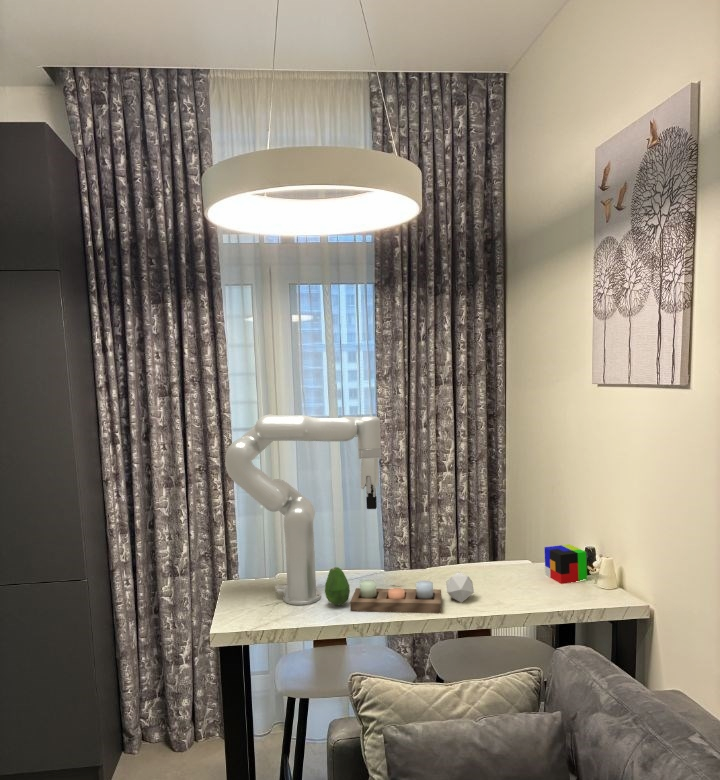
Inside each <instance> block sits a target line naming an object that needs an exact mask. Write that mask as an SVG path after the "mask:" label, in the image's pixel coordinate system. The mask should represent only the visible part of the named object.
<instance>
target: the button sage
mask: <svg viewBox="0 0 720 780" xmlns="http://www.w3.org/2000/svg"><path fill="white" fill-rule="evenodd" d="M359 588H360V596H361V597H363V598H373V597H375V596H376V595H377V590H376V589H377V581H376V580H374V579H364V580H361V581H360V582H359Z"/></svg>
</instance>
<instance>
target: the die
mask: <svg viewBox="0 0 720 780" xmlns="http://www.w3.org/2000/svg"><path fill="white" fill-rule="evenodd" d="M445 585H446V593H447V594H448V595H449V597H451V598H452V599H453V600H456V601H457V602H459V603H462V602H464V601H465V600H467V599H468V598H469V597H470V596H471V595H473V594H474V593H475V590H474V584H473V581H472V579H471V578H470V577H469V576H468V575H467V574H465V573H462V572H461V571H458V572H456V573H455V574H453V575H451V576H450V577H449V578H448V579H447V580H446V581H445Z"/></svg>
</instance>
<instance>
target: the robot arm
mask: <svg viewBox="0 0 720 780" xmlns="http://www.w3.org/2000/svg"><path fill="white" fill-rule="evenodd" d="M380 421H381V420H380V418H379V417H378V416H374V415H373V416H371V415H370V416H369V415H368V416H367V415H366V416H361V417H360V416H359V417H357V416H349V415H348V416H341V417H337V418H335V417H334V418H327V417H326V418H325V417H324V418H323V417H322V418H321V417H314V416H310V415H302V414H300V415H299V414H298V415H295V414H294V415H293V414H291V415H290V414H288V415H287V414H285V415H279V414H278V415H276V414H272V413H269V414H265V415H263V416H261V417H259V418H258V419H257V420H256V423H255V424H254V426H252V427H251V428H250V429H249V430H248V431H247V432H245V433H244V434H243V435H242V436H241V437H239V438H238V439H236V440H234V441H233V442H232V443H231V444H230V445H229V447H228V448H227V450H226V454H225V461H224V465H225V469H226V472H227V474H228V476H229V478H231V480H232V481H233V482H234V483H235V484H236V485H237V486H239V488H241V489H242V490H243V491H244V492H245V493H247V494H248V495H249V496H250V497H251V498H252V499H253V500H255V501H256V502H258V504H260V505H261V506H262V507H263V508H264V509H266V511H267V510H268V511H270V512H280V513H281V514H282V515H283V516H284V517H283V531H284V540H285V541H284V542H285V543H284V545H285V560H286V562H285V563H286V566H285V567H286V584H284V585H283V584H282V585H281V584H276V585H275V592H276V593H277V594H282V593H283V595H282V601H283V602H284V603H286V604H289V605H293V606H304V605H309V604H310V605H311V604H313V603H314V604H315V603H316V602H318V601H319V600H320V599H321V597H322V593H321V591H320V590H317V579H316V578H317V577H316V554H315V553H316V551H315V536H314V535H315V534H314V533H315V532H314V519H315V513H316V512H315V507H314V504H313V503H312V502H311V501H310V500H309V499H308V498H307V497H305V495H303V494H302V493H300V492H299V491H298V490H297V489H296V488H294V486H292V485H291V484H289V483H288V482H287V481H285V480H284V479H283V480H282V479H279V478H273V479H272V478H271V477H270V476H268V475H267V474H266V473H265V472H264V471H263V470H261V469H259V468H258V467H257V466H255V465H254V464H253V460H254V459H256V457H258V455H260V454H261V453H262V452H263V451H264V450H265V449H267V448H268V446H270V445H271V444H272V443H273V442H290V441H291V442H348V441H352V440H353V439H355V438H357V447H358V459H359V460H361V461H360V488H361V490H364V488H365V492H366V496H365V497H366V499H365V500H366V509H367V510H376V509H377V508H378V506H377V505H378V501H377V500H378V499H377V487H378V485H379V481H380V480H379V477H380V476H379V459H381V458H382V446H381V445H382V444H381V441H382V440H381V422H380Z"/></svg>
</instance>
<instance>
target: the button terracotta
mask: <svg viewBox="0 0 720 780" xmlns="http://www.w3.org/2000/svg"><path fill="white" fill-rule="evenodd" d="M388 589H389V590H388V598H389V599H405V590H404V589H405V588H401V587H392V588H388Z"/></svg>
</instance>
